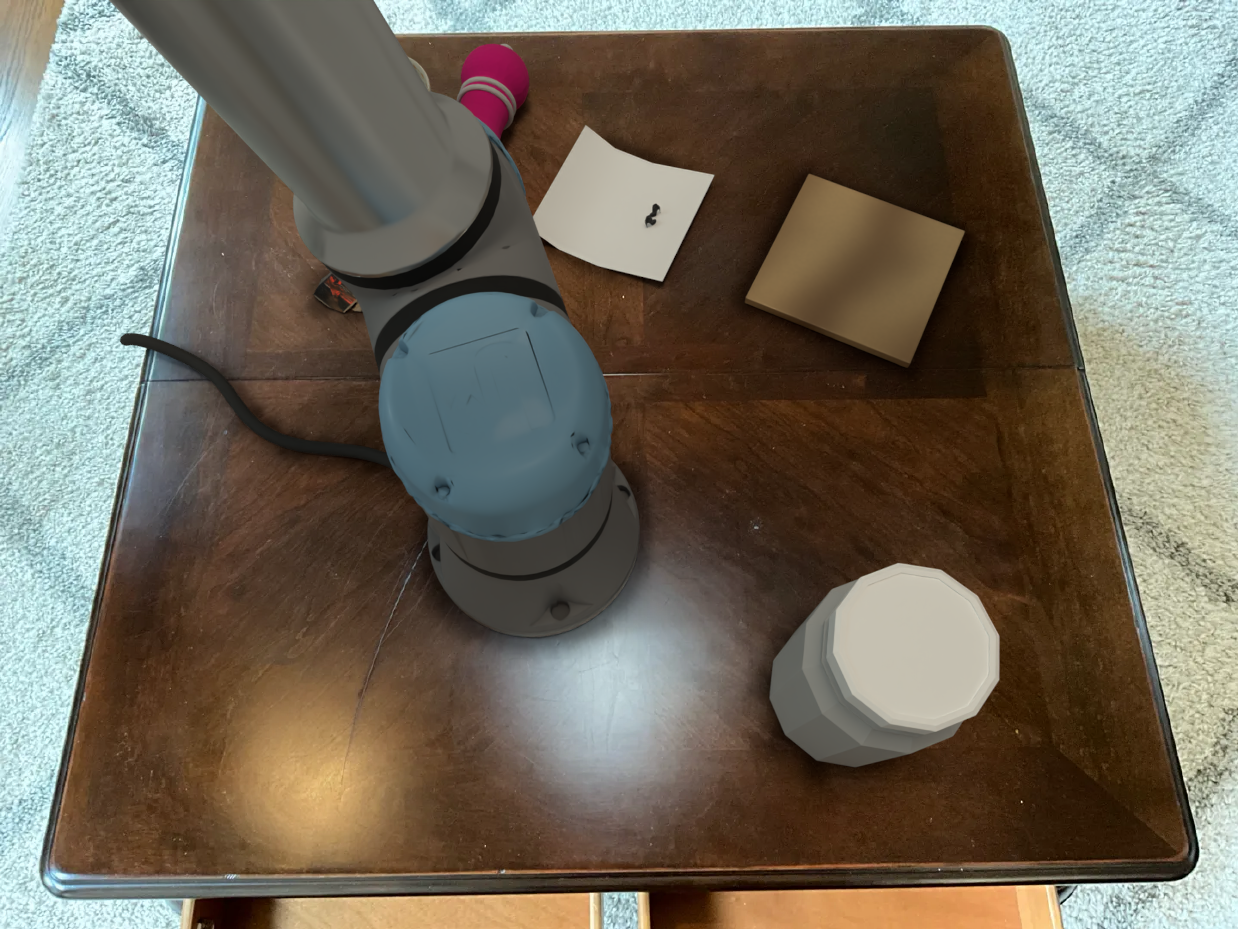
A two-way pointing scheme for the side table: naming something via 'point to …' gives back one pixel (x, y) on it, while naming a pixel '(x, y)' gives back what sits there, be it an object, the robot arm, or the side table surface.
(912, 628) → the jar
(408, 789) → the side table surface
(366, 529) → the side table surface
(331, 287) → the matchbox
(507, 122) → the pepper mill
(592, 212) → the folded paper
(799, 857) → the side table surface
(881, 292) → the cork mat
